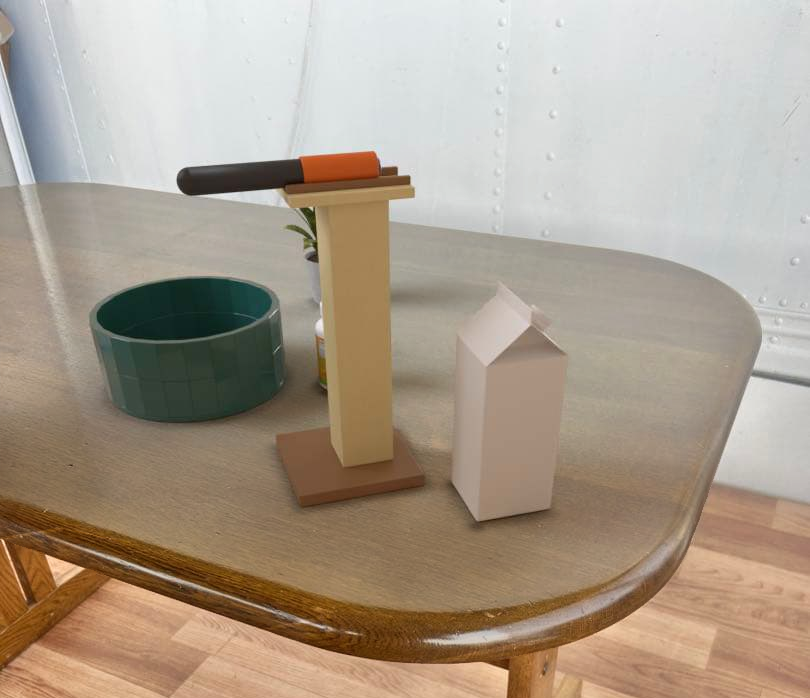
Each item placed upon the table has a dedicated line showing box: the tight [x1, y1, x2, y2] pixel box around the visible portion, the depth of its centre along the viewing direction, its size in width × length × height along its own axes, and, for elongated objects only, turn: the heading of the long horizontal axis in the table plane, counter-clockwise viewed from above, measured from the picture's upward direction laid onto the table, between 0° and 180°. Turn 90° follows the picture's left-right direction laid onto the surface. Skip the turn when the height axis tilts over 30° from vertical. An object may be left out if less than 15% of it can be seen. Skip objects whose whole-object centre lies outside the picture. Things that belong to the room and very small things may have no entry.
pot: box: [88, 275, 287, 423], centre depth 93 cm, size 21×21×9 cm
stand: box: [275, 165, 425, 508], centre depth 72 cm, size 12×12×27 cm
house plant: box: [283, 207, 321, 306], centre depth 111 cm, size 14×14×16 cm
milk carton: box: [451, 281, 569, 522], centre depth 70 cm, size 7×7×19 cm
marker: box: [175, 150, 383, 197], centre depth 63 cm, size 16×2×2 cm, turn 108°
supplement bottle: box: [314, 301, 328, 391], centre depth 92 cm, size 5×5×10 cm
